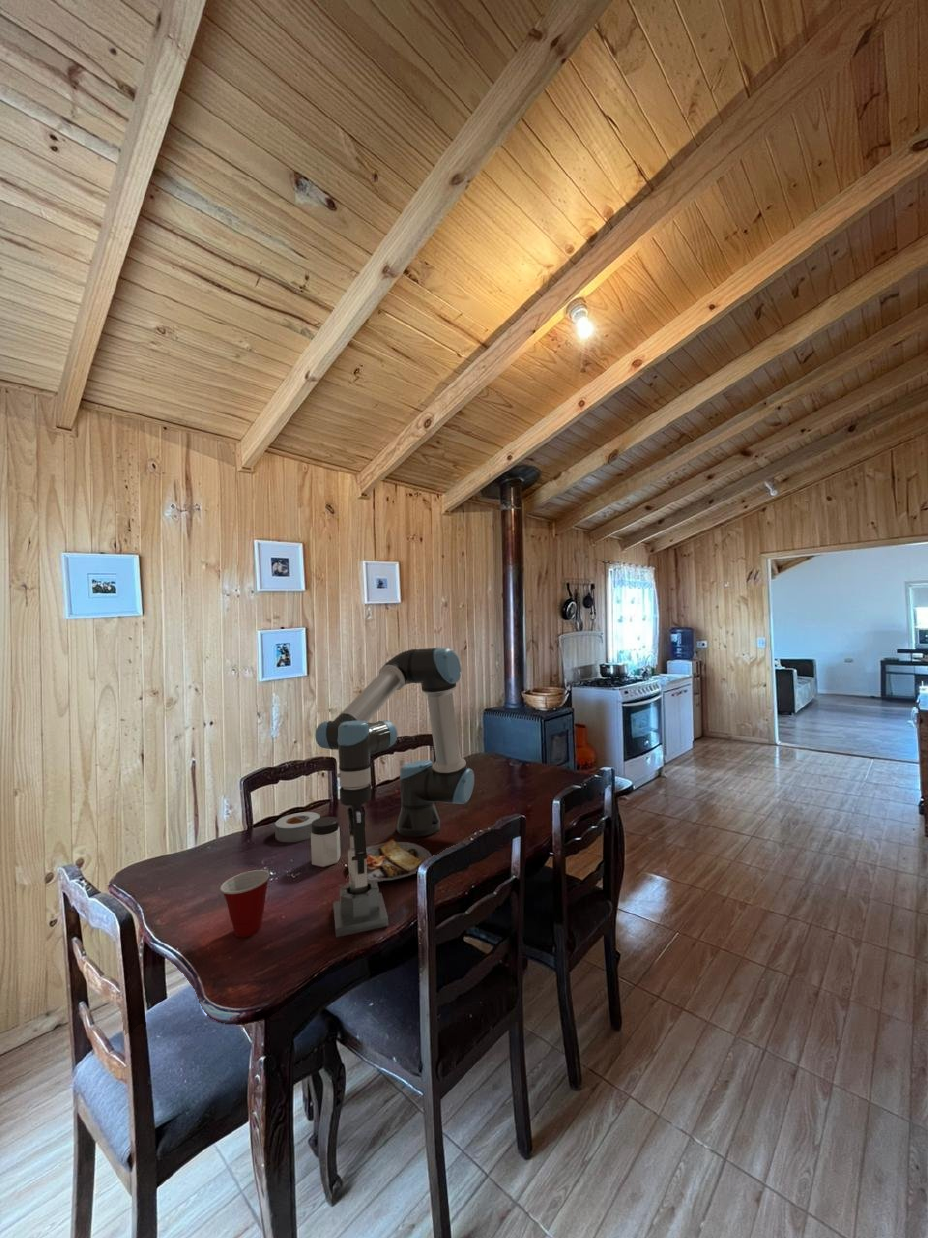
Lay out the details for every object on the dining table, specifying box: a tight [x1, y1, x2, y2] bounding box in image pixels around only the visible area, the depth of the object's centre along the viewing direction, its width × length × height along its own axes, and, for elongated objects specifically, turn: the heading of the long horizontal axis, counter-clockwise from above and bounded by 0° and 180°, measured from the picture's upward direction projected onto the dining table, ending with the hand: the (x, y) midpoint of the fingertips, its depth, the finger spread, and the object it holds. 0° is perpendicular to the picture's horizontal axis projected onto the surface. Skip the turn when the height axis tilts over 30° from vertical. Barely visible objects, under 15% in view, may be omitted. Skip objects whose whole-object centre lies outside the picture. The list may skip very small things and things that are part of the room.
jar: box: [310, 816, 342, 868], centre depth 151 cm, size 9×8×12 cm
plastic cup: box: [220, 869, 271, 938], centre depth 116 cm, size 11×11×12 cm
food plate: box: [347, 838, 432, 883], centre depth 146 cm, size 25×23×4 cm
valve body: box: [332, 873, 389, 938], centre depth 121 cm, size 12×16×7 cm
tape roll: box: [274, 811, 321, 843], centre depth 174 cm, size 15×15×5 cm
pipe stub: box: [347, 848, 368, 895], centre depth 119 cm, size 4×4×14 cm
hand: (358, 873), depth 119 cm, fingers open, 13 cm apart
